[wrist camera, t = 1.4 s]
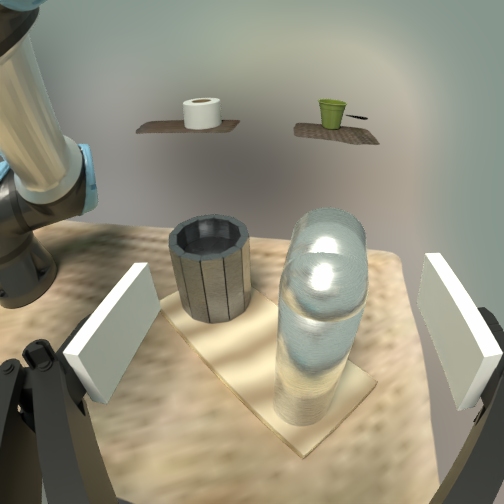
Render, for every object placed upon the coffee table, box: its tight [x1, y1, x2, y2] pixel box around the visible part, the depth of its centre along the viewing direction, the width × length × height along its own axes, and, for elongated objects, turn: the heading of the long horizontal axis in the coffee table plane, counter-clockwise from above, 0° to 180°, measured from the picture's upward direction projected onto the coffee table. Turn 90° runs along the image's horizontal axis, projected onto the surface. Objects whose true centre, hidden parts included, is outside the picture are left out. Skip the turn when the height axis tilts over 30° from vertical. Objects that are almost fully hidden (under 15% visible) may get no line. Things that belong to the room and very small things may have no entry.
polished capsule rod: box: [273, 207, 368, 427], centre depth 28 cm, size 9×6×21 cm
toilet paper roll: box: [183, 98, 221, 129], centre depth 126 cm, size 16×15×11 cm
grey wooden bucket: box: [169, 214, 251, 324], centre depth 44 cm, size 10×10×11 cm
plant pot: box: [318, 99, 347, 129], centre depth 121 cm, size 12×12×11 cm
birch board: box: [159, 286, 378, 459], centre depth 41 cm, size 30×13×2 cm, turn 41°
